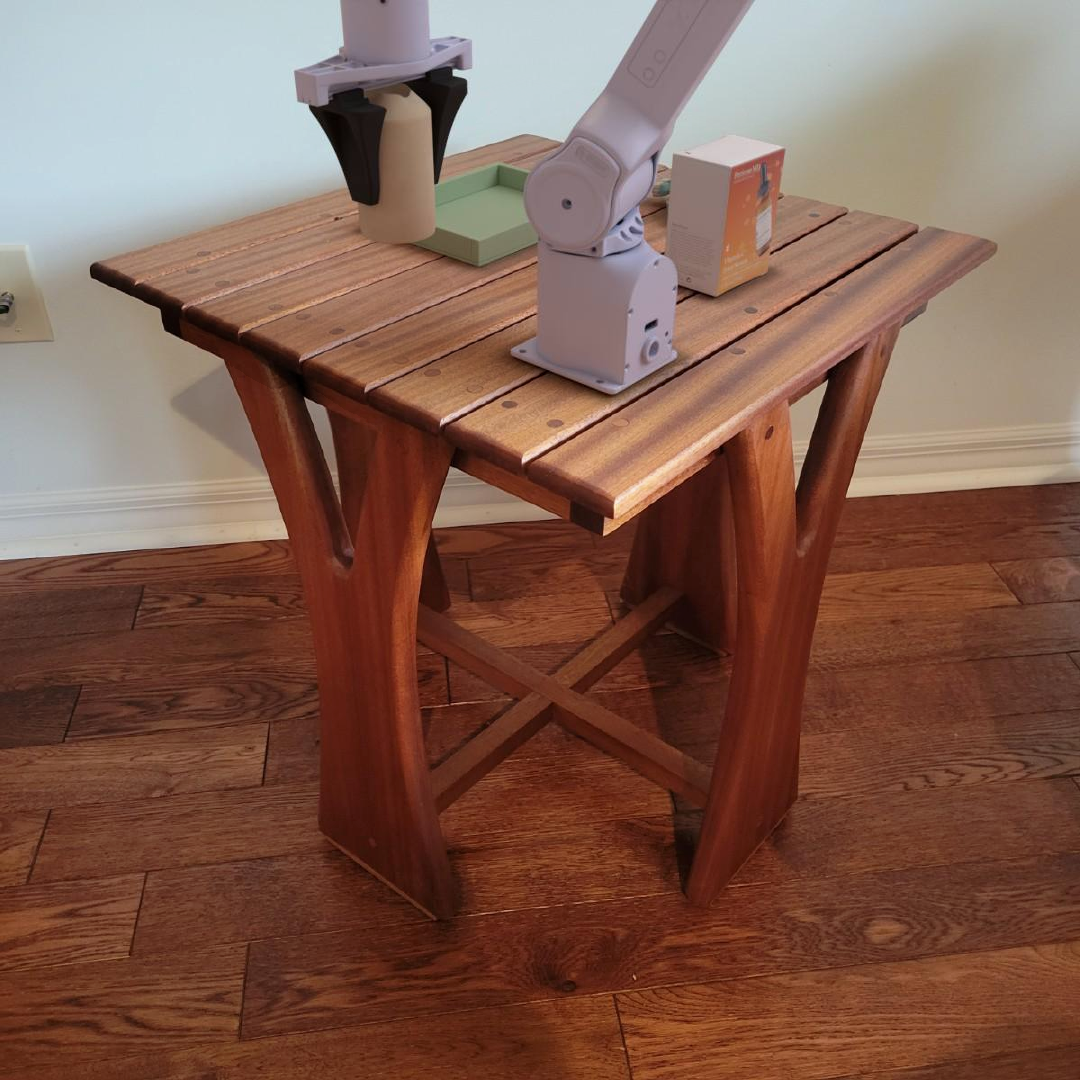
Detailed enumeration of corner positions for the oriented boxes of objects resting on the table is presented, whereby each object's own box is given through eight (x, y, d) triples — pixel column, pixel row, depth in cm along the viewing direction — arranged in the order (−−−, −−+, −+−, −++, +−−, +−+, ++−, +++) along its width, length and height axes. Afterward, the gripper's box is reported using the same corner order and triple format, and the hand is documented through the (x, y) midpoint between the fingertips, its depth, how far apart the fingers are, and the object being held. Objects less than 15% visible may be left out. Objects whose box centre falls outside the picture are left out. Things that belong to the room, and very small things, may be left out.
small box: (715, 299, 88) (730, 167, 82) (660, 280, 91) (670, 152, 85) (770, 272, 93) (788, 145, 87) (715, 255, 96) (729, 131, 90)
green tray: (604, 215, 104) (605, 190, 103) (478, 267, 93) (478, 240, 92) (498, 184, 111) (497, 161, 110) (369, 229, 100) (367, 204, 99)
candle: (424, 247, 77) (416, 100, 72) (349, 241, 78) (336, 94, 72) (444, 221, 82) (439, 80, 76) (374, 215, 83) (363, 75, 77)
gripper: (418, -39, 77) (427, 157, 85) (253, -13, 68) (280, 203, 76) (493, -27, 74) (495, 176, 81) (329, 1, 64) (349, 227, 72)
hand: (396, 191), depth 78 cm, fingers closed on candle, 5 cm apart
